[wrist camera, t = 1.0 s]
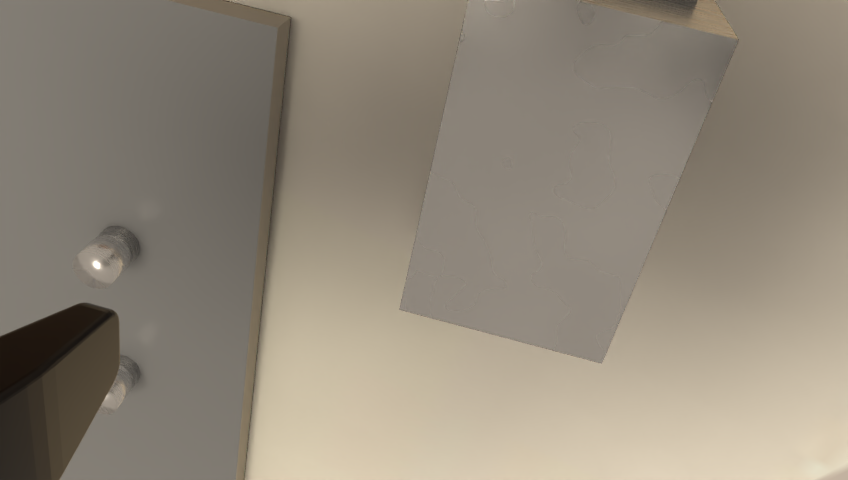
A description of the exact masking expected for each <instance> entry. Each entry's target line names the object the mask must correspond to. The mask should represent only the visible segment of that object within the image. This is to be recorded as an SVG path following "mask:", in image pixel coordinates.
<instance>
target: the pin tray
mask: <svg viewBox="0 0 848 480" xmlns="http://www.w3.org/2000/svg"><path fill="white" fill-rule="evenodd" d="M290 21H291V17H288V16H284V15H280V14H276V13H272V12H268V11H264V10H260V9H256V8H252V7H248V6H244V5H240V4H236V3H232V2H228V1H224V0H0V336H1V335H4V334H6V333H9V332H11V331H13V330H16V329H18V328H21V327H23V326H25V325H28V324H30V323H33V322H35V321H37V320H40V319H42V318H44V317H47V316H49V315H52V314H54V313H56V312H59V311H61V310H64V309H66V308H68V307H71V306H73V305H76V304H79V303H91V304H94V305H98V306H101V307H105V308H109V309H112V310H113V311H115V312H116V313H117V315H118V317H119V328H120V366H119V370H118V374H117V377H116V379H115V381H114V383H113V385H112V387H111V389H110V390H109V392H108V394H107V396H106V398H105V399H104V401H103V403H102V405H101V407H100V408H99V410H98V412H97V414H96V416H95V417H94V419H93V421H92V423H91V425H90V426H89V428H88V430H87V432H86V434H85V436H84V437H83V439H82V441H81V443H80V445H79V446H78V448H77V450H76V452H75V454H74V455H73V457H72V459H71V461H70V463H69V464H68V466H67V468H66V470H65V472H64V473H63V475H62V477H61V479H60V480H244V476H245V466H246V456H247V446H248V436H249V427H250V417H251V407H252V397H253V387H254V377H255V367H256V357H257V347H258V338H259V328H260V318H261V308H262V298H263V288H264V278H265V268H266V258H267V248H268V239H269V229H270V219H271V209H272V199H273V189H274V179H275V169H276V159H277V150H278V140H279V130H280V120H281V110H282V100H283V90H284V80H285V70H286V61H287V51H288V41H289V31H290Z"/></svg>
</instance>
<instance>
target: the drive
mask: <svg viewBox="0 0 848 480" xmlns="http://www.w3.org/2000/svg"><path fill="white" fill-rule="evenodd" d="M738 40H739V39H738V38H737V36H736V35H735V33H734V31H733V30H732V28H731V27H730V25H729V23H728V22H727V20H726V19H725V17H724V15H723V14H722V12H721V10H720V9H719V7H718V6H717V4H716V2H715V1H714V0H468V4H467V8H466V13H465V17H464V22H463V26H462V31H461V35H460V40H459V44H458V49H457V53H456V58H455V62H454V67H453V71H452V76H451V80H450V85H449V89H448V94H447V98H446V103H445V107H444V112H443V116H442V121H441V125H440V130H439V134H438V139H437V143H436V148H435V152H434V157H433V161H432V166H431V170H430V175H429V179H428V184H427V188H426V193H425V197H424V202H423V206H422V211H421V215H420V220H419V224H418V229H417V233H416V238H415V242H414V247H413V251H412V256H411V260H410V265H409V269H408V274H407V278H406V283H405V287H404V292H403V296H402V300H401V305H400V309H399V310H403V311H406V312H410V313H414V314H418V315H421V316H425V317H429V318H433V319H437V320H440V321H444V322H448V323H452V324H455V325H459V326H463V327H467V328H470V329H474V330H478V331H482V332H485V333H489V334H493V335H497V336H500V337H504V338H508V339H512V340H515V341H519V342H523V343H527V344H530V345H534V346H538V347H542V348H546V349H549V350H553V351H557V352H561V353H564V354H568V355H572V356H576V357H579V358H583V359H587V360H591V361H594V362H598V363H602V362H603V359H604V357H605V355H606V352H607V350H608V348H609V345H610V343H611V340H612V338H613V336H614V333H615V331H616V329H617V326H618V324H619V322H620V319H621V317H622V314H623V312H624V310H625V307H626V305H627V303H628V300H629V298H630V296H631V293H632V291H633V288H634V286H635V284H636V281H637V279H638V277H639V274H640V272H641V270H642V267H643V265H644V262H645V260H646V258H647V255H648V253H649V251H650V248H651V246H652V244H653V241H654V239H655V236H656V234H657V232H658V229H659V227H660V225H661V222H662V220H663V218H664V215H665V213H666V210H667V208H668V206H669V203H670V201H671V199H672V196H673V194H674V192H675V189H676V187H677V184H678V182H679V180H680V177H681V175H682V173H683V170H684V168H685V166H686V163H687V161H688V158H689V156H690V154H691V151H692V149H693V147H694V144H695V142H696V140H697V137H698V135H699V132H700V130H701V128H702V125H703V123H704V121H705V118H706V116H707V114H708V111H709V109H710V106H711V104H712V102H713V99H714V97H715V95H716V92H717V90H718V88H719V85H720V83H721V80H722V78H723V76H724V73H725V71H726V69H727V66H728V64H729V62H730V59H731V57H732V54H733V52H734V50H735V47H736V45H737V43H738Z"/></svg>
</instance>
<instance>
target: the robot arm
mask: <svg viewBox="0 0 848 480" xmlns="http://www.w3.org/2000/svg"><path fill="white" fill-rule="evenodd" d="M119 366H120V328H119V317H118V315H117V313H116V312H115V311H113V310H112V309H109V308H105V307H101V306H98V305H94V304H91V303H79V304H76V305H73V306H71V307H68V308H66V309H64V310H61V311H59V312H56V313H54V314H52V315H49V316H47V317H44V318H42V319H40V320H37V321H35V322H33V323H30V324H28V325H25V326H23V327H21V328H18V329H16V330H13V331H11V332H9V333H6V334H4V335H1V336H0V480H60V479H61V477H62V475H63V473H64V472H65V470H66V468H67V466H68V464H69V463H70V461H71V459H72V457H73V455H74V454H75V452H76V450H77V448H78V446H79V445H80V443H81V441H82V439H83V437H84V436H85V434H86V432H87V430H88V428H89V426H90V425H91V423H92V421H93V419H94V417H95V416H96V414H97V412H98V410H99V408H100V407H101V405H102V403H103V401H104V399H105V398H106V396H107V394H108V392H109V390H110V389H111V387H112V385H113V383H114V381H115V379H116V377H117V374H118V370H119Z"/></svg>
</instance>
